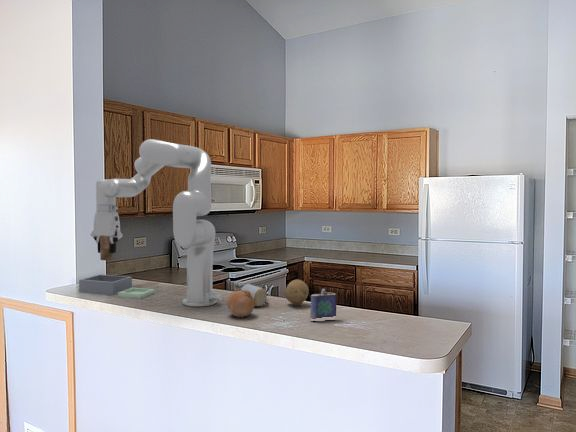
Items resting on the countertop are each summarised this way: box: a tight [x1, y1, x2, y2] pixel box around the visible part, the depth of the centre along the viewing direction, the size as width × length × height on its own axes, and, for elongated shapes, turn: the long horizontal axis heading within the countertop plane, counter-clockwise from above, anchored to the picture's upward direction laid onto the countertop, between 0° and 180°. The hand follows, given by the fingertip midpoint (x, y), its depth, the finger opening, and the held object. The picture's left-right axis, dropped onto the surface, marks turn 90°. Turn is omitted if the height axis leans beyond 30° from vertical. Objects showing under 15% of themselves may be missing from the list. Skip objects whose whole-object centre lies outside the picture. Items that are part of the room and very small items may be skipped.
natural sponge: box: [284, 279, 310, 306], centre depth 172 cm, size 9×9×10 cm
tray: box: [117, 287, 155, 300], centre depth 183 cm, size 10×10×2 cm
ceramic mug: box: [239, 283, 269, 307], centre depth 172 cm, size 11×8×8 cm
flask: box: [309, 288, 338, 319], centre depth 153 cm, size 9×3×11 cm, turn 109°
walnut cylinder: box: [99, 236, 114, 261], centre depth 190 cm, size 5×5×10 cm
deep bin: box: [78, 274, 133, 296], centre depth 191 cm, size 16×13×5 cm
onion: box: [226, 290, 255, 318], centre depth 156 cm, size 10×9×10 cm
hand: (106, 252), depth 190 cm, fingers closed on walnut cylinder, 5 cm apart
